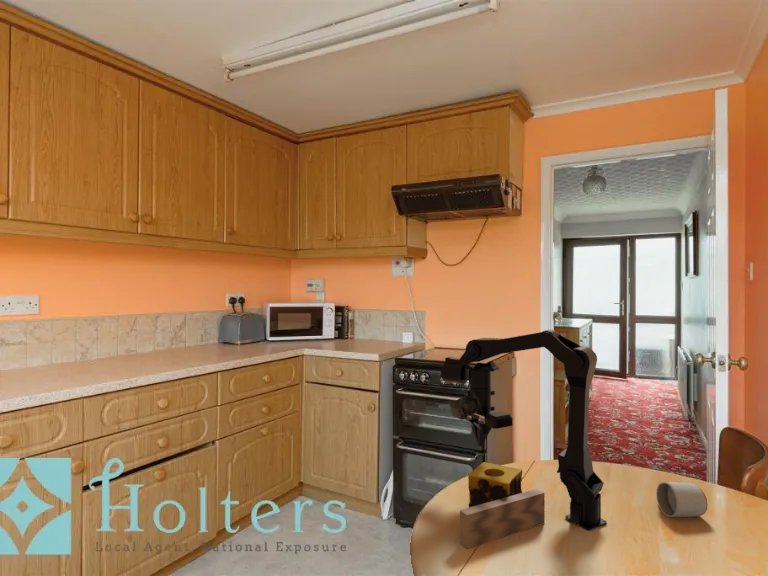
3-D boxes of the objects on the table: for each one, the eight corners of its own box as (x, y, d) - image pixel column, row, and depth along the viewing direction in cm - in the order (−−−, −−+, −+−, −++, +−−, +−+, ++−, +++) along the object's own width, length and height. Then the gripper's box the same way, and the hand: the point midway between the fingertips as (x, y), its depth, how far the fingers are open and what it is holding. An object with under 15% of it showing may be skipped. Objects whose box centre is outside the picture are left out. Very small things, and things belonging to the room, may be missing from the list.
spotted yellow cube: (524, 510, 115) (524, 469, 115) (510, 528, 106) (510, 484, 106) (483, 500, 120) (483, 460, 120) (467, 516, 112) (467, 474, 112)
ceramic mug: (710, 522, 109) (710, 488, 109) (676, 523, 108) (676, 489, 108) (678, 501, 119) (678, 471, 119) (647, 503, 119) (647, 472, 119)
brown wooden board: (536, 518, 110) (536, 488, 110) (544, 523, 108) (544, 492, 108) (459, 543, 100) (459, 510, 100) (467, 548, 98) (466, 515, 98)
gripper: (434, 383, 129) (434, 440, 129) (478, 397, 113) (478, 462, 113) (467, 379, 135) (467, 434, 135) (514, 392, 118) (514, 454, 118)
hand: (480, 445), depth 125 cm, fingers closed
